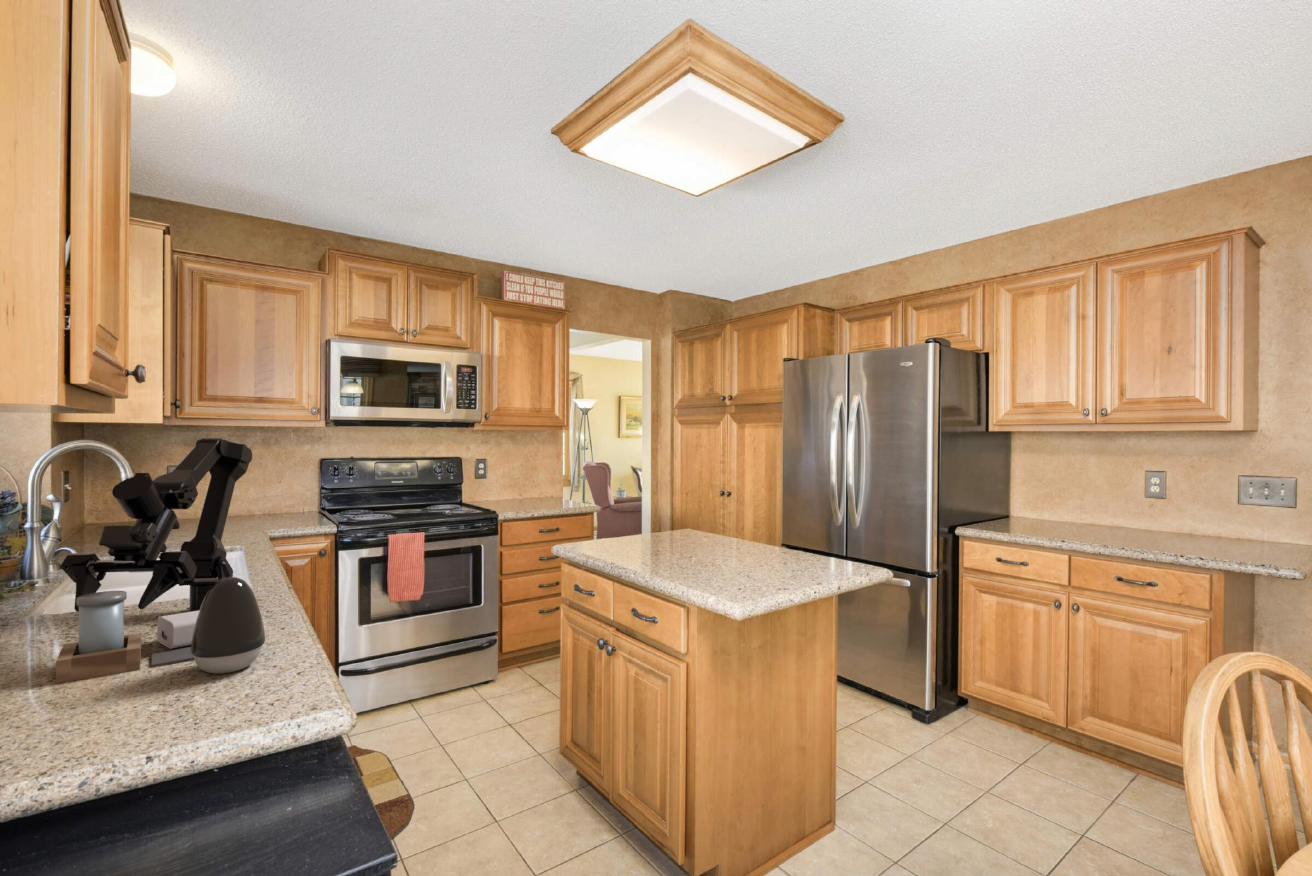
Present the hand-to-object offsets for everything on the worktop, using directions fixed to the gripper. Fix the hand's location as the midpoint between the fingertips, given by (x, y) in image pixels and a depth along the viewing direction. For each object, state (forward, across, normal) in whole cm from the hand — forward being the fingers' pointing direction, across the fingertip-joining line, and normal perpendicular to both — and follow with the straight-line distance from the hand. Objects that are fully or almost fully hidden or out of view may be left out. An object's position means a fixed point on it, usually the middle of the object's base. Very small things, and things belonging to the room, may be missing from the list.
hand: (108, 609), depth 104 cm
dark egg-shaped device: (+11, +21, +3) cm, 23 cm away
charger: (-2, +10, +15) cm, 18 cm away
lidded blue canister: (+8, 0, +5) cm, 9 cm away
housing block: (+8, 0, +5) cm, 9 cm away
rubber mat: (+5, +10, +8) cm, 13 cm away
